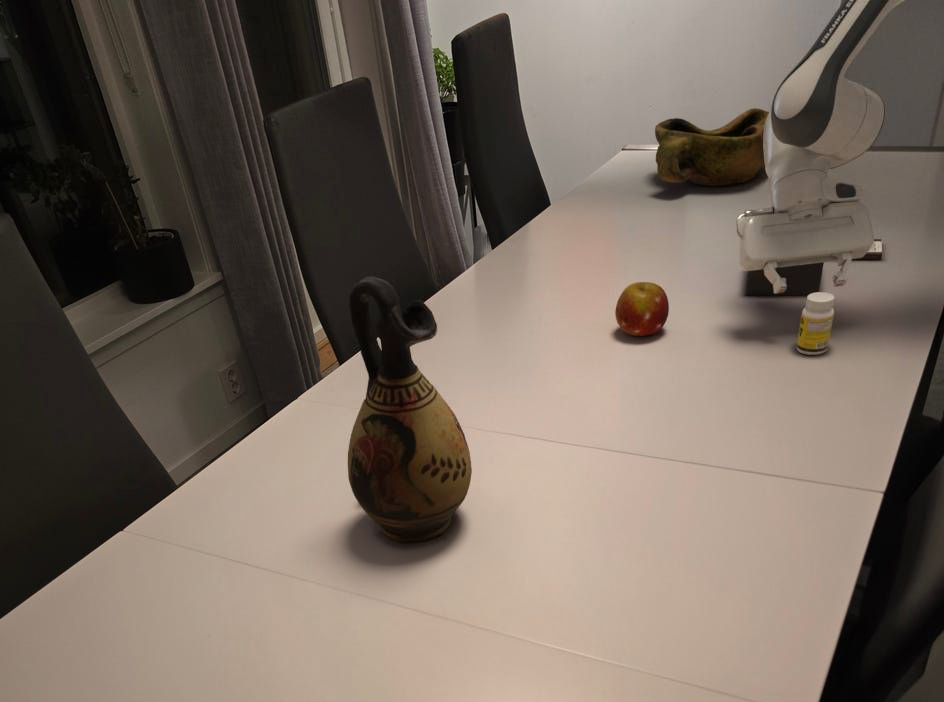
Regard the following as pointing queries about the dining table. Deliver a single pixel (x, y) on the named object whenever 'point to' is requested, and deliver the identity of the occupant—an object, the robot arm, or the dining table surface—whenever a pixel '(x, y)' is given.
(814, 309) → the supplement bottle
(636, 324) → the fruit
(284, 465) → the dining table surface
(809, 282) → the trash bin
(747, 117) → the bowl
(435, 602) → the dining table surface
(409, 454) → the ceramic jug
